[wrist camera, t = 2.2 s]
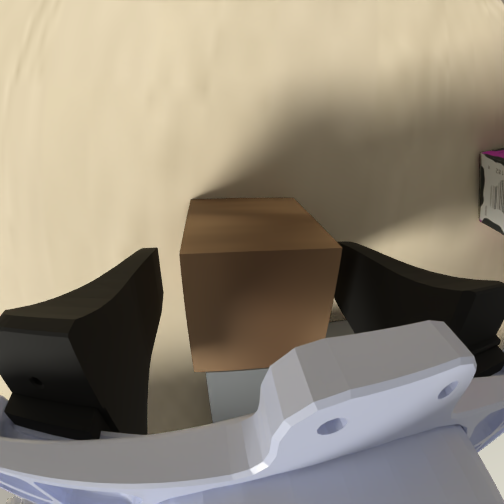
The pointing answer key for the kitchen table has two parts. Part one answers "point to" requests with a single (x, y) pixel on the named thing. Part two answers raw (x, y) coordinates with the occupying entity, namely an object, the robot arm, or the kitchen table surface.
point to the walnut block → (254, 280)
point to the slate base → (247, 384)
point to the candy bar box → (492, 189)
